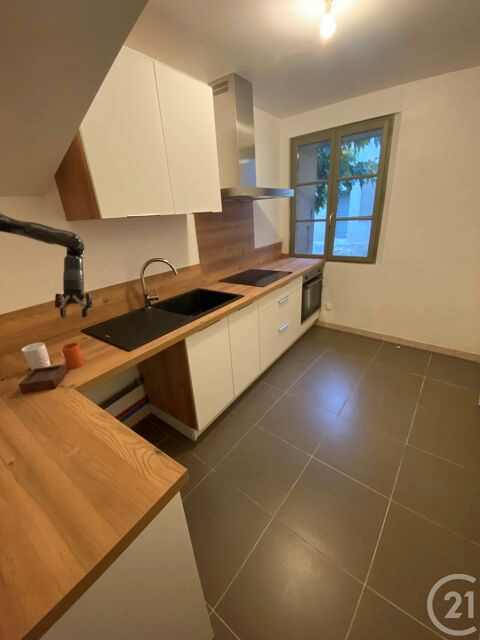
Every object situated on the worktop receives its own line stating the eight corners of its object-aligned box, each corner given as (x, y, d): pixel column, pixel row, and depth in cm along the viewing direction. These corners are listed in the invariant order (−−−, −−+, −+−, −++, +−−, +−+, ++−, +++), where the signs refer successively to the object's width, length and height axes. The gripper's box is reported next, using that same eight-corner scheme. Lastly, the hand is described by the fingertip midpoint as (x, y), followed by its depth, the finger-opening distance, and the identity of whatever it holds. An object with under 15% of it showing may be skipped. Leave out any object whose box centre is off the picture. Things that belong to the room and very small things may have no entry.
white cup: (32, 374, 106) (23, 353, 102) (28, 368, 111) (19, 347, 107) (54, 366, 111) (46, 345, 108) (49, 360, 116) (42, 340, 113)
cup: (64, 370, 108) (57, 350, 105) (70, 362, 114) (63, 343, 111) (81, 367, 109) (75, 348, 106) (86, 359, 115) (80, 341, 112)
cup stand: (22, 393, 94) (18, 384, 93) (37, 377, 104) (34, 368, 103) (55, 388, 96) (52, 379, 94) (67, 372, 106) (64, 364, 105)
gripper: (94, 281, 118) (95, 317, 118) (61, 281, 117) (61, 318, 116) (86, 279, 110) (86, 317, 110) (50, 279, 109) (51, 317, 109)
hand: (73, 317), depth 113 cm, fingers open, 8 cm apart
